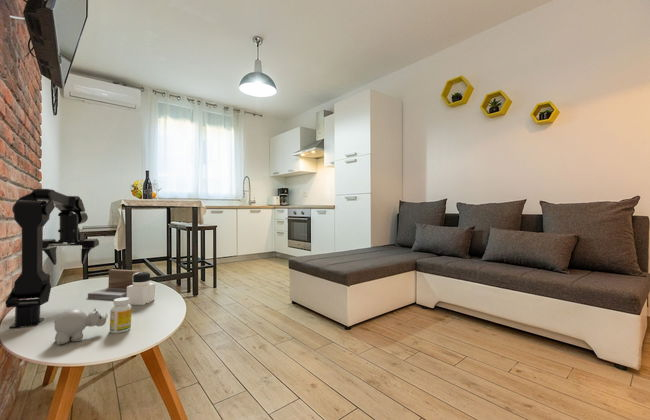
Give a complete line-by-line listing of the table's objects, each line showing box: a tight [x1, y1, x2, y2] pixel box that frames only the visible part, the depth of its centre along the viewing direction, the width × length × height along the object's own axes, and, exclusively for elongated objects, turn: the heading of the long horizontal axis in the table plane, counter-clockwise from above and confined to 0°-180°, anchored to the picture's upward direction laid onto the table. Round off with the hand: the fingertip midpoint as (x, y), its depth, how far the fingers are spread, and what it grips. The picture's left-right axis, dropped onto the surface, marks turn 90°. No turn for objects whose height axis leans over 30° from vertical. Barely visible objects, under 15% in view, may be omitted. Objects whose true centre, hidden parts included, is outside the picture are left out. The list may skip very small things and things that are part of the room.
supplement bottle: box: [109, 297, 132, 334], centre depth 91 cm, size 5×5×10 cm
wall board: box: [87, 268, 143, 301], centre depth 127 cm, size 12×15×10 cm
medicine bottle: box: [127, 271, 156, 306], centre depth 119 cm, size 7×7×12 cm
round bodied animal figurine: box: [53, 308, 109, 345], centre depth 85 cm, size 7×12×8 cm, turn 136°
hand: (69, 264), depth 120 cm, fingers open, 9 cm apart
